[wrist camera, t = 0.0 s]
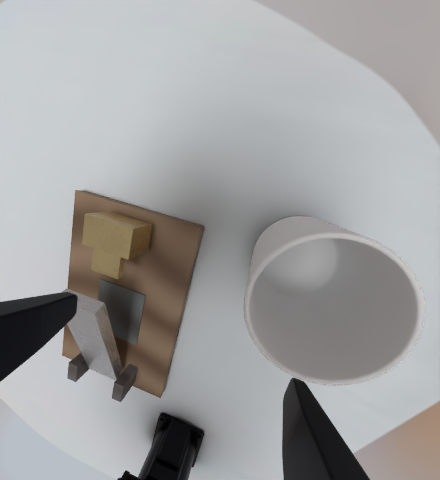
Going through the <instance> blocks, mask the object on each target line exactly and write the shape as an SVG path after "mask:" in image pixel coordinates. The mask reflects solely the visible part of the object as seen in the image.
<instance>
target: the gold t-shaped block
mask: <svg viewBox="0 0 440 480" xmlns="http://www.w3.org/2000/svg"><path fill="white" fill-rule="evenodd" d="M152 226H153V224H151V223H147V222H144V221H141V220H138V219H134V218H131V217H128V216H125V215H121V214H118V213H115V212H112V211H109V212H98V213H86V214H85V217H84V228H83V239H82V244H83V245H86V246H89V247H92V248H93V256H92V265H91V270H93V271H96V272H98V273H101V274H104V275H107V276H110V277H112V278H115V279H119V278H121V277H122V275H123V268H124V262H125V259H127V260H129V259H131V258H133V257H136V256H138V255H140V254H142V253H144V252H146V251H148V248H149V243H150V237H151V232H152Z"/></svg>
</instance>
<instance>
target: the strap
mask: <svg viewBox="0 0 440 480" xmlns="http://www.w3.org/2000/svg"><path fill="white" fill-rule="evenodd" d="M63 292H70V293H73V294H76V295H77V297H78V302H77V312H76V314H75V316H74V317H73V318H72V319H71V320H70V321H69V322H68V323H67V325H68V327H69V329H70V331H71V333H72V335H73V337H74V339H75V341H76V343H77V345H78V347H79V349H80V351H81V353H82V355H83V357H84V359H85V361H86V363H87V365H88V367H89V369H92V370H94V371H96V372H98V373H101V374H103V375H105V376H108V377H110V378H112V379H115V380H117V379H118V377H119V376H120V375H121V373H122V372H123V368H122V364H121V361H120V357H119V353H118V350H117V346H116V342H115V339H114V335H113V331H112V328H111V324H110V320H109V317H108V313H107V310H106V306H105V303H103V302H101V301H98V300H95V299H93V298H90V297H87V296H85V295H82V294H80V293H77V292H74V291H72V290H69V289H65V290H64V291H63Z"/></svg>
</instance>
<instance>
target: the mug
mask: <svg viewBox="0 0 440 480" xmlns="http://www.w3.org/2000/svg"><path fill="white" fill-rule="evenodd" d="M244 316H245V321H246V325H247V328H248V331H249V333H250V336H251V338H252V339H253V341H254V343H255V345H256V346H257V347H258V349H259V350H260V351H261V353H262V354H263V355H264V356H265V357H266V358H267V359H268V360H269V361H270V362H272V363H273V364H274V365H275V366H277V367H278V368H280V369H281V370H283V371H284V372H286V373H288V374H290V375H292V376H294V377H297V378H299V379H302V380H305V381H309V382H312V383H318V384H323V385H349V384H356V383H360V382H364V381H368V380H371V379H373V378H376V377H379V376H380V375H382V374H384V373H386V372H388V371H390V370H391V369H393V368H394V367H396V366H397V365H398V364H399V363H400V362H401V361H403V360H404V359H405V358H406V357H407V355H408V354H409V353H410V352H411V351H412V349H413V348H414V346H415V345H416V343H417V341H418V339H419V337H420V334H421V332H422V329H423V325H424V321H425V302H424V296H423V293H422V289H421V286H420V284H419V282H418V280H417V278H416V276H415V274H414V273H413V272H412V270H411V269H410V267H409V266H408V265H407V264H406V263H405V262H404V261H403V259H402V258H401V257H399V256H398V255H397V254H396V253H394V252H393V251H392V250H391V249H389V248H387V247H386V246H384V245H382V244H381V243H378V242H376V241H374V240H372V239H369V238H367V237H364V236H361V235H359V234H356V233H354V232H351V231H348V230H346V229H343V228H340V227H338V226H335V225H333V224H330V223H327V222H325V221H322V220H319V219H316V218H312V217H307V216H293V217H288V218H284V219H281V220H279V221H277V222H275V223H273V224H272V225H270V226H269V227H268V228H267V229H265V230H264V232H263V233H262V234H261V235H260V237H259V238H258V240H257V242H256V244H255V247H254V250H253V255H252V260H251V265H250V271H249V276H248V282H247V287H246V292H245V298H244Z"/></svg>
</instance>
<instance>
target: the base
mask: <svg viewBox="0 0 440 480" xmlns="http://www.w3.org/2000/svg"><path fill="white" fill-rule="evenodd" d="M109 211H112V212H115V213H118V214H121V215H125V216H128V217H131V218H134V219H138V220H141V221H144V222H147V223H151V224H153V226H152V232H151V237H150V243H149V248H148V251H146V252H144V253H142V254H140V255H138V256H136V257H133V258H131V259H129V260H127V259H125V262H124V268H123V275H122V277H121V278H119V279H115V278H112V277H110V276H107V275H104V274H101V273H98V272H96V271H93V270H91V265H92V256H93V248H92V247H89V246H86V245H83V244H82V239H83V228H84V217H85V214H86V213H98V212H109ZM203 229H204V226H201V225H198V224H194V223H191V222H188V221H184V220H181V219H178V218H174V217H171V216H167V215H164V214H161V213H157V212H154V211H151V210H147V209H144V208H141V207H137V206H134V205H131V204H127V203H124V202H120V201H117V200H114V199H110V198H107V197H104V196H100V195H97V194H94V193H90V192H87V191H78V190H75V203H74V215H73V227H72V240H71V252H70V265H69V277H68V289H69V290H72V291H74V292H77V293H80V294H82V295H85V296H87V297H90V298H93V299H95V300H98V301H101V302H103V303H105V306H106V310H107V313H108V317H109V320H110V324H111V328H112V331H113V335H114V339H115V342H116V346H117V350H118V353H119V357H120V361H121V364H122V368H123V372H122V373H121V375H120V376H119V377H118V379H117V380H116V381H115V382H114V388H113V394H112V398H113V399H115V400H117V401H119V402H121V401H122V400H123V398H124V397H125V395H126V394H127V393H128V391H129V390H130V388H131V387H132V386H134V387H136V388H139V389H141V390H143V391H146V392H148V393H150V394H153V395H155V396H157V397H159V398H161V396H162V394H163V392H164V390H165V386H166V382H167V377H168V373H169V369H170V365H171V361H172V357H173V353H174V349H175V344H176V340H177V336H178V332H179V328H180V324H181V320H182V316H183V311H184V307H185V303H186V299H187V295H188V291H189V287H190V282H191V278H192V274H193V270H194V266H195V262H196V258H197V254H198V249H199V245H200V241H201V237H202V233H203ZM62 355H63V356H65V357H67V358H70V359H72V360H71V361H70V362H69V367H68V379H70V380H73V381H75V382H76V381H77V380H78V379H79V378H80V377H81V376H82V375H83V374H84V373H85V372H86V371H87V370H88V369H89V367H88V365H87V363H86V361H85V359H84V357H83V355H82V353H81V351H80V349H79V347H78V345H77V343H76V341H75V339H74V337H73V335H72V333H71V331H70V329H69V327H68V325H67V324H66V325H65V327H64V340H63V352H62Z"/></svg>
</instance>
